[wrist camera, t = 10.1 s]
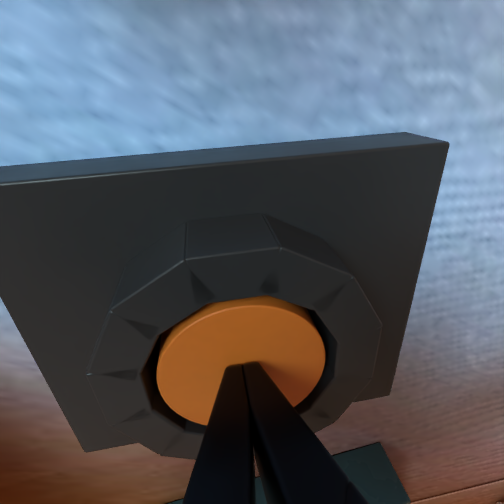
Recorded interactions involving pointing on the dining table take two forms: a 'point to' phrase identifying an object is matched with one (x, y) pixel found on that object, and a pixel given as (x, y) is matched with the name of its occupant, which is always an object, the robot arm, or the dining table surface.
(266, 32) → the dining table surface
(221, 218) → the button base
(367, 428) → the dining table surface
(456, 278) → the dining table surface
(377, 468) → the dial console
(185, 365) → the button
